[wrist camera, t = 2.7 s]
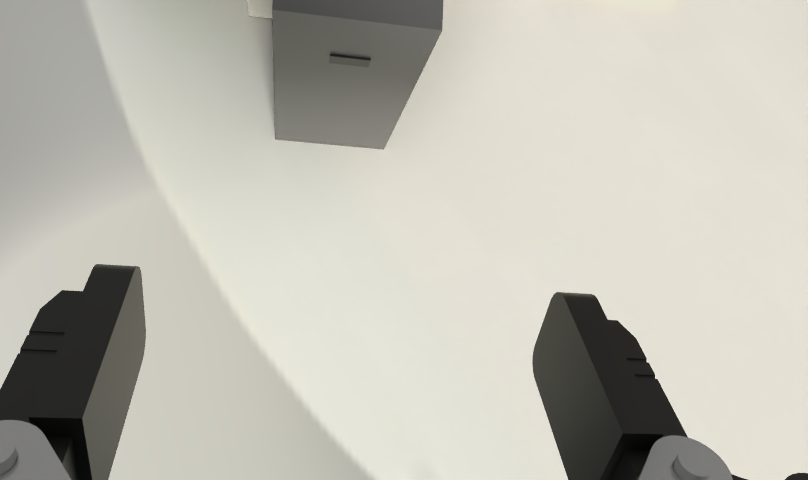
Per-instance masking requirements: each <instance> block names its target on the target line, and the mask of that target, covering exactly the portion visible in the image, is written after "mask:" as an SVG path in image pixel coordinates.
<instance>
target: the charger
mask: <svg viewBox="0 0 808 480" xmlns="http://www.w3.org/2000/svg"><path fill="white" fill-rule="evenodd" d="M442 19H443V0H273V4H272V27H273V65H274V102H275V139H277V140H288V141H299V142H310V143H320V144H331V145H342V146H353V147H364V148H374V149H384V148H385V146H386V144H387V142H388V140H389V138H390V136H391V134H392V132H393V130H394V127H395V125H396V123H397V121H398V119H399V117H400V115H401V113H402V111H403V109H404V107H405V105H406V103H407V101H408V99H409V97H410V95H411V93H412V91H413V89H414V87H415V85H416V83H417V81H418V79H419V76H420V74H421V72H422V70H423V68H424V66H425V64H426V62H427V60H428V58H429V56H430V54H431V52H432V50H433V48H434V46H435V44H436V42H437V40H438V38H439V36H440V34H441V32H442Z"/></svg>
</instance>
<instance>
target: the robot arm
mask: <svg viewBox="0 0 808 480" xmlns="http://www.w3.org/2000/svg"><path fill="white" fill-rule="evenodd" d="M145 334H146V328H145V316H144V302H143V289H142V278H141V271H140V268H139V267H137V266H118V265H102V264H97V265H95V266H94V267H93V269H92V271H91V274H90V276H89V278H88V281H87V283H86V286H85V288H84V290H83V291H65V290H62V291H61V292H60V293H59V294H57V295H56V296H55V297H54V298H53V299H52V300H50V301H49V302H48V303H47V304H45V305H44V306H43V307H42V308H41V309H40V311H39V312H38V314H37V317H36V319H35V321H34V323H33V325H32V327H31V329H30V331H29V335H27V337H26V339H25V341H24V343H23V345H22V347H21V351H20V354H18V355H17V357H16V359H15V361H14V363H13V365H12V367H11V369H10V371H9V373H8V375H7V377H6V379H5V381H4V383H3V385H2V387H1V389H0V480H108V478H109V474H110V471H111V467H112V464H113V460H114V457H115V454H116V450H117V447H118V443H119V440H120V436H121V433H122V429H123V426H124V423H125V419H126V416H127V412H128V409H129V405H130V402H131V398H132V395H133V391H134V388H135V385H136V381H137V378H138V374H139V370H140V367H141V363H142V360H143V355H144V348H145V338H146V335H145ZM533 373H534V377H535V381H536V384H537V387H538V390H539V393H540V396H541V399H542V402H543V405H544V408H545V411H546V414H547V417H548V420H549V423H550V426H551V429H552V432H553V435H554V438H555V441H556V444H557V447H558V450H559V453H560V456H561V459H562V462H563V465H564V468H565V471H566V474H567V477H568V480H747V479H744V478H740V477H737V476H735V475H732V474H731V473H730V471H729V469H728V467H727V466H726V464H725V463H724V461H723V460H722V459H721V458H720V457H719V456H718V455H717V454H716V453H715V452H714V451H712V450H711V449H710V448H708V447H707V446H705V445H704V444H702V443H700V442H698V441H696V440H693V439H691V438H688V437H687V435H686V433H685V431H684V429H683V427H682V425H681V424H680V422H679V420H678V418H677V416H676V414H675V412H674V410H673V408H672V406H671V404H670V403H669V401H668V399H667V397H666V395H665V393H664V391H663V389H662V387H661V385H660V383H659V381H658V380H657V379H655V374H654V372H653V370H652V368H651V366H650V364H649V363H647V362H646V357H645V355H644V353H643V351H642V349H641V347H640V345H639V343H638V341H637V339H636V338H635V337H634V336H633V335H632V334H631V333H630V332H629V331H628V330H627V329H626V328H625V327H623V326H622V325H621V324H620V323H619V322H618V321H616V320H607V318H606V316H605V314H604V312H603V310H602V307H601V305H600V303H599V301H598V299H597V298H596V297H595V296H594V295H592V294H579V293H562V292H557V293H555V294H554V295H553V297H552V299H551V301H550V304H549V307H548V310H547V313H546V316H545V318H544V321H543V324H542V327H541V330H540V333H539V335H538V338H537V341H536V344H535V347H534V352H533ZM785 480H808V474H807V473H797V474H792V475H790V476H788V477H787V478H786V479H785Z"/></svg>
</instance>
